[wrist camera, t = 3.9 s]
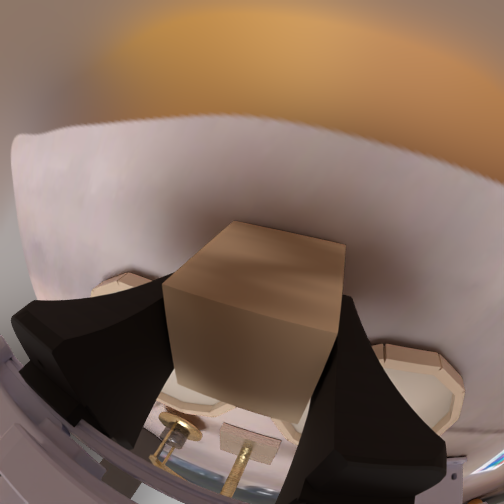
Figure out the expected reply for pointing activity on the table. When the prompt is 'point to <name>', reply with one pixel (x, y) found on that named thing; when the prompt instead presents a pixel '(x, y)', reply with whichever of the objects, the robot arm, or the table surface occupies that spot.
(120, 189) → the table surface
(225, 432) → the balance scale
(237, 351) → the maple block
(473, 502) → the figurine
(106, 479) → the bottle
